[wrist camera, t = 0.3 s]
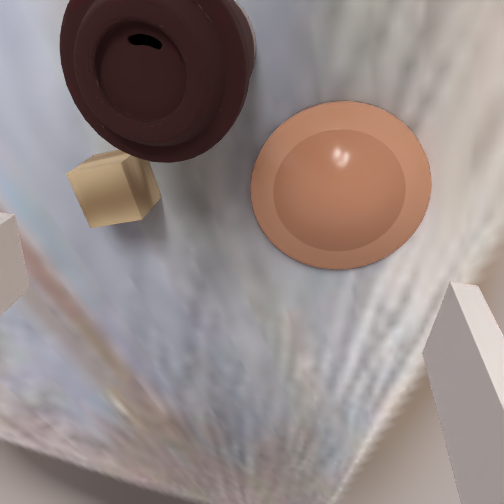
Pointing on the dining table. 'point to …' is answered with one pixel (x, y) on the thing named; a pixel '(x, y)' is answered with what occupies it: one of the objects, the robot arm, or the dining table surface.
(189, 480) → the dining table surface
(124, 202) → the tan cube
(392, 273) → the dining table surface
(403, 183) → the saucer
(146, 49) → the coffee cup
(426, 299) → the dining table surface
